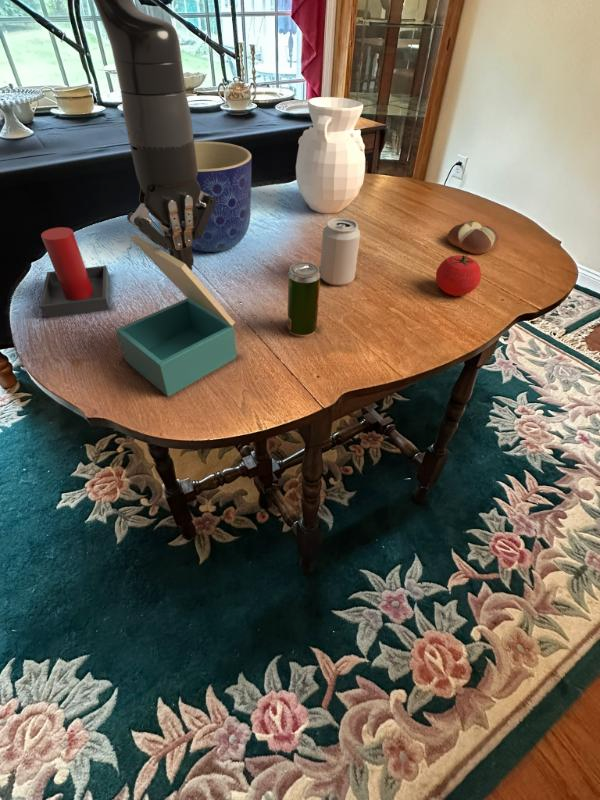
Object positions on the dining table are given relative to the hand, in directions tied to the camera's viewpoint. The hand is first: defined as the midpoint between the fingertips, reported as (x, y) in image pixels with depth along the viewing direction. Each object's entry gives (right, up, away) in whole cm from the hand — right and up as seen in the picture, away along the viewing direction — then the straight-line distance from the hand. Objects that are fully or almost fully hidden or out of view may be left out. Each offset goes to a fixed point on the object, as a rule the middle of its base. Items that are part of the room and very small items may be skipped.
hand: (183, 269), depth 63 cm
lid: (0, -2, +1) cm, 2 cm away
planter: (-4, +19, +41) cm, 45 cm away
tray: (-26, +1, +21) cm, 34 cm away
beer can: (+17, -6, +16) cm, 24 cm away
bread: (+60, +20, +44) cm, 77 cm away
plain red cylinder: (-26, +2, +21) cm, 34 cm away
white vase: (+25, +35, +59) cm, 73 cm away
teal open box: (-3, -12, +9) cm, 15 cm away
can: (+25, +7, +30) cm, 39 cm away
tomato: (+49, +4, +27) cm, 57 cm away
